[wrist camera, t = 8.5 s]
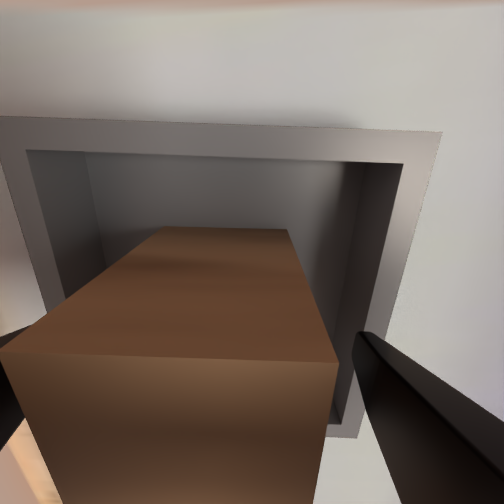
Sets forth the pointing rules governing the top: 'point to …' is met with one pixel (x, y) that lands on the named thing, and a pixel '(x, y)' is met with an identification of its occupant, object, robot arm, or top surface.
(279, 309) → the walnut block
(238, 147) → the grey square tray
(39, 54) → the top surface
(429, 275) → the top surface
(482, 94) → the top surface
